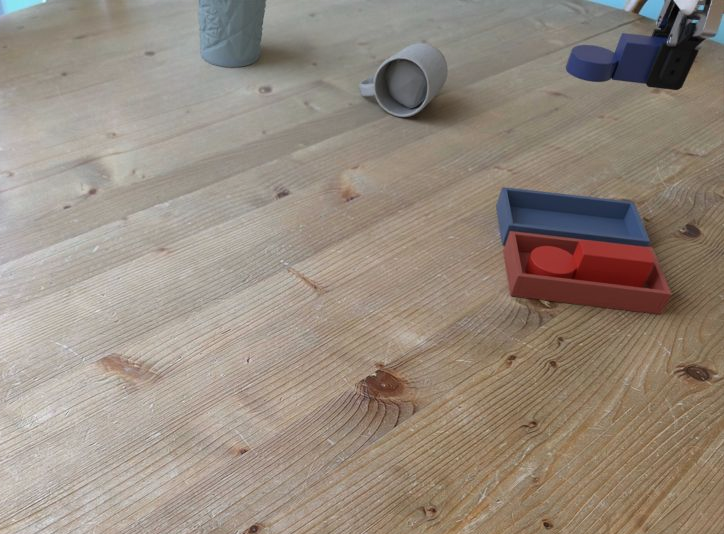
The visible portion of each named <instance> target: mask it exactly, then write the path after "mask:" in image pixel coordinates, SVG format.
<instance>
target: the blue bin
mask: <svg viewBox="0 0 724 534" xmlns="http://www.w3.org/2000/svg"><path fill="white" fill-rule="evenodd" d="M496 201H497V202H496V204H495V209H496V215H497V220H498V228H499V233H500V239H501V245H502V246H505V244H506V241H507V238H508V235H509V232H510V231H514V232H523V233H532V234H540V235H549V236H557V237H566V238H574V239H583V240H591V241H600V242H609V243H617V244H626V245H634V246H643V247H649V246H650V244H651V239H650V237H649V234H648V232H647V230H646V227H645V224H644V222H643V220H642V217H641V215H640V212H639V210H638V207H637V204H636V203H635V201H631V200H630V201H629V200H622V199H614V198H613V199H612V198H605V197H604V198H603V197H594V196H587V195H576V194H570V193H569V194H568V193H559V192H552V191H543V190H542V191H541V190H535V189H533V190H532V189H524V188H514V187H506V186H502V187H501V189H500V192H499V196H498V199H497V200H496Z"/></svg>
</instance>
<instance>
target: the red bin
mask: <svg viewBox="0 0 724 534" xmlns="http://www.w3.org/2000/svg"><path fill="white" fill-rule="evenodd" d="M579 240H583V239H574V238H566V237H557V236H549V235H540V234H532V233H523V232H514V231H510V232H509V235H508V238H507V241H506V244H505V245H504V248H503V258H504V264H505V270H506V276H507V282H508V289H509V294H510V295H509V296H510V297H514V298H523V299H531V300H532V299H533V300H539V301H541V300H542V301H549V302H557V303H564V304H574V305H580V306H589V307H598V308H605V309H612V310H622V311H630V312H637V313H646V314H655V315H661V314H662V313H663V311H664V309H665V308H666V305H667V304H668V302H669V300H670V299H671V297H672V295H673V293H672V291H671V288H670V286H669V284H668V281H667V279H666V277H665V274H664V272H663V271H664V270H663V269H662V266H661V264H660V262H659V259H658V257H657V254H656V252H655V249H654V248H653V247H651V246H648V247H647V248H649V250H650V252H651V255H652V257H653V260H654V262H655V263H654V265H653V267H652V269H651V271H650V273H649V274H648V276H647V278H646V280H645V282H644V284H643V286H642V288H640V287H632V286H624V285H615V284H607V283H599V282H590V281H582V280H574V279H566V278H557V277H549V276H541V275H532V274H527V273H526V265H527V262H528V260H529V257H530V254H531V252H532V251H533V250H534V249H535V248H537V247H541V246H553V247H557V248H560V249H563V250H565V251H567V252H569V253H570V254H571V255H572V256H573V254H574V252H575V250H576V247H577V245H578V242H579ZM587 241H591V240H587ZM595 242H600V241H595ZM604 243H609V242H604ZM613 244H617V243H613ZM621 245H626V244H621ZM630 246H634V245H630ZM638 247H643V246H638Z"/></svg>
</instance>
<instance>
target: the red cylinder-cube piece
mask: <svg viewBox="0 0 724 534" xmlns="http://www.w3.org/2000/svg"><path fill="white" fill-rule="evenodd" d="M654 263H655V262H654V260H653V257H652V255H651V252H650V250H649V248H647V247H638V246H630V245H621V244H613V243H604V242H595V241H587V240H579V242H578V245H577V247H576V250H575V252H574V254H573V256H572V255H571V254H570V253H569V252H567V251H565V250H563V249H560V248H557V247H553V246H541V247H537V248H535V249H534V250H533V251H532V252H531V254H530V257H529V260H528V262H527V265H526V273H527V274H532V275H541V276H549V277H557V278H566V279H574V280H582V281H590V282H599V283H607V284H615V285H624V286H632V287H640V288H642V286H643V284H644V282H645V280H646V278H647V276H648V274H649V273H650V271H651V269H652V267H653V265H654Z"/></svg>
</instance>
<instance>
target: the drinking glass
mask: <svg viewBox="0 0 724 534" xmlns="http://www.w3.org/2000/svg"><path fill="white" fill-rule="evenodd" d="M266 2H267V0H197V8H198V10H197V16H198V25H199V26H198V27H199V28H198V30H199V34H198V35H199V51H200V57H201V59H203V60H204V61H205V62H207V63H208V64H211V65H214V66H217V67H224V68H241V67H246V66H250V65H253V64H254V63H256V62H257V61H258V59H259V57H260V55H261V43H262V39H263V29H264V28H263V25H264V18H265V12H266V10H265V9H266V7H267V3H266Z"/></svg>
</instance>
